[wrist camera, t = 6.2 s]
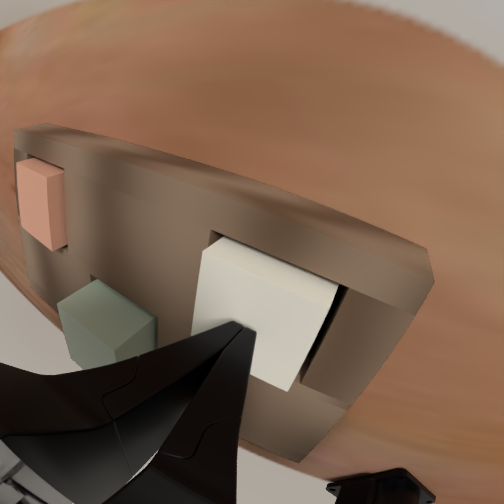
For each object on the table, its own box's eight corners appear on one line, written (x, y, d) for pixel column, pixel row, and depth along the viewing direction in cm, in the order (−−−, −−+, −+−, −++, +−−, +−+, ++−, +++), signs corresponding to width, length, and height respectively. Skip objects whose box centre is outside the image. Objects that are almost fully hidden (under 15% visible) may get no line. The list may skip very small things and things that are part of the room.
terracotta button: (93, 164, 14) (46, 177, 12) (93, 231, 16) (52, 251, 13) (57, 151, 15) (16, 162, 13) (58, 211, 17) (21, 226, 15)
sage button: (159, 313, 13) (114, 350, 11) (158, 366, 15) (123, 401, 13) (100, 276, 14) (56, 303, 12) (106, 330, 16) (71, 358, 14)
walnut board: (426, 249, 9) (434, 282, 7) (312, 429, 15) (298, 463, 13) (45, 123, 15) (14, 129, 13) (54, 274, 21) (30, 287, 19)
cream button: (347, 262, 11) (330, 307, 8) (311, 341, 12) (287, 391, 10) (246, 221, 12) (202, 250, 9) (227, 303, 14) (190, 342, 11)
